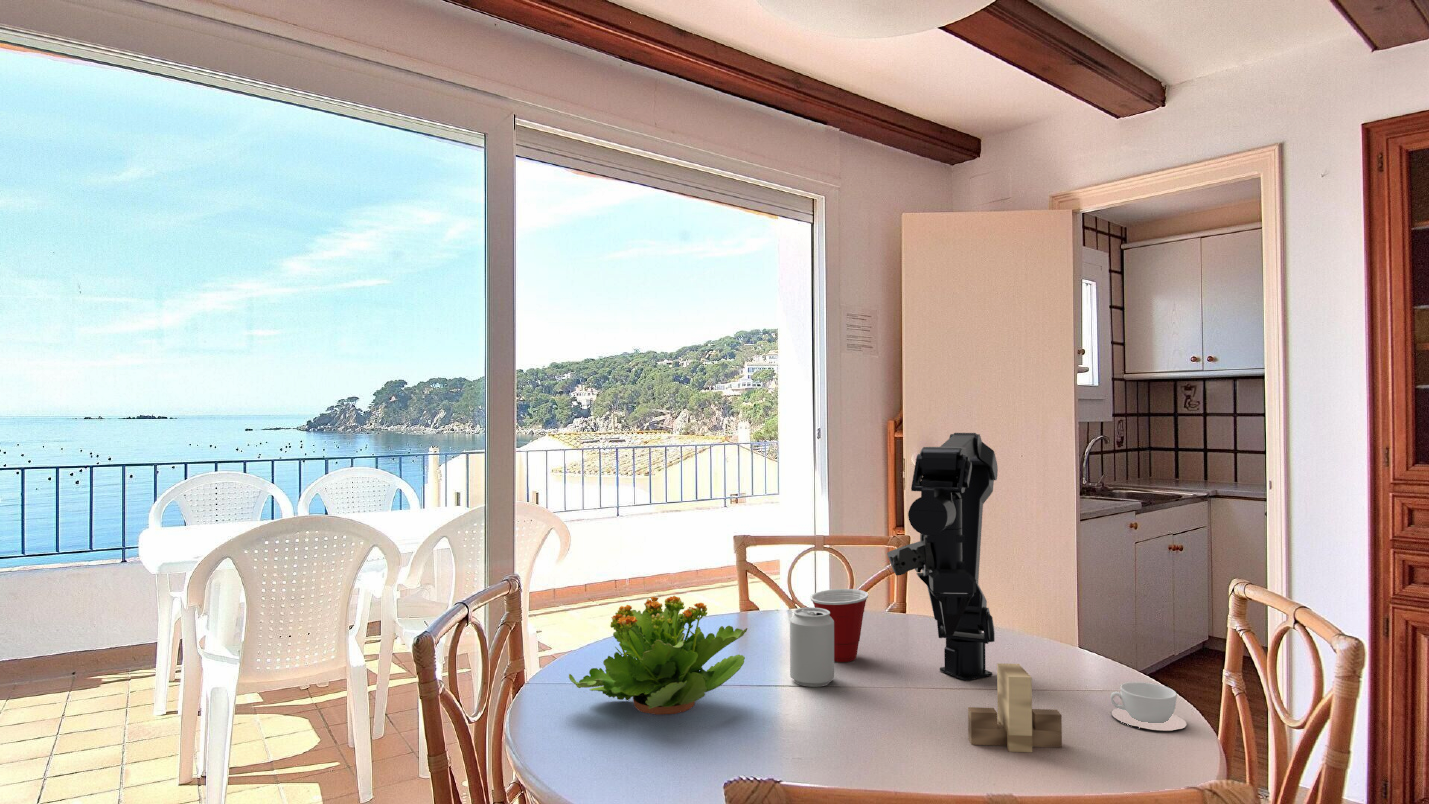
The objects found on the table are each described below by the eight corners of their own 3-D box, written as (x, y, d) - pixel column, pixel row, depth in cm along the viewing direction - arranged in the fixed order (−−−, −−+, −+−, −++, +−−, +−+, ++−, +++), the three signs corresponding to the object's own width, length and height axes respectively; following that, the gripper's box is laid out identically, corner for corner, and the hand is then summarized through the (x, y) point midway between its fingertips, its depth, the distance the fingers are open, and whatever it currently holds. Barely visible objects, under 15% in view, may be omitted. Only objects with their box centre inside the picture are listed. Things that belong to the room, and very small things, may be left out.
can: (832, 689, 136) (832, 616, 136) (787, 687, 138) (787, 614, 138) (835, 675, 143) (835, 606, 144) (792, 673, 145) (792, 604, 145)
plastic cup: (805, 650, 159) (804, 587, 159) (860, 648, 160) (859, 586, 160) (816, 667, 148) (816, 600, 148) (875, 665, 149) (875, 599, 149)
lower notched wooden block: (971, 744, 113) (971, 712, 113) (968, 738, 115) (968, 707, 115) (1061, 747, 112) (1061, 714, 112) (1057, 741, 114) (1056, 709, 114)
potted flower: (645, 671, 146) (645, 572, 146) (769, 691, 136) (769, 584, 136) (559, 718, 124) (559, 601, 124) (700, 746, 113) (700, 618, 113)
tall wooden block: (997, 734, 117) (997, 663, 117) (1019, 735, 117) (1018, 663, 117) (1009, 751, 111) (1008, 676, 111) (1032, 752, 111) (1031, 677, 111)
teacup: (1179, 713, 125) (1178, 682, 125) (1194, 738, 116) (1193, 704, 116) (1106, 706, 128) (1106, 676, 128) (1115, 730, 119) (1115, 697, 119)
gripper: (883, 519, 139) (884, 612, 139) (898, 535, 121) (899, 642, 121) (951, 519, 138) (951, 613, 138) (976, 536, 120) (977, 644, 120)
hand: (943, 627), depth 129 cm, fingers open, 9 cm apart
